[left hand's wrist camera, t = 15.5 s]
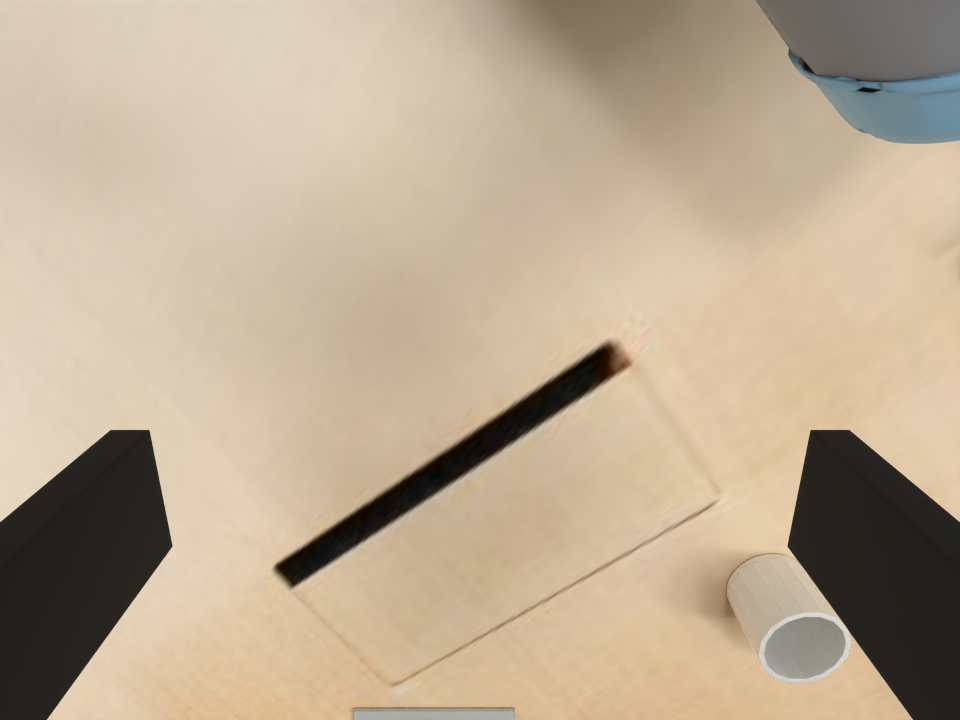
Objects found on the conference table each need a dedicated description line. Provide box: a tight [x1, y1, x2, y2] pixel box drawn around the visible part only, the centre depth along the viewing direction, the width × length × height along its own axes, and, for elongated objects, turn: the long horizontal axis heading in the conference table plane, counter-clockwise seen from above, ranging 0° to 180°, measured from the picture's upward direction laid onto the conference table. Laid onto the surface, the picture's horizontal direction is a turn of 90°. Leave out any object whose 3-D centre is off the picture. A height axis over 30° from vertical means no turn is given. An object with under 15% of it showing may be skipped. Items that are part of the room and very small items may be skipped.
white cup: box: [727, 554, 851, 683], centre depth 48 cm, size 6×6×6 cm
